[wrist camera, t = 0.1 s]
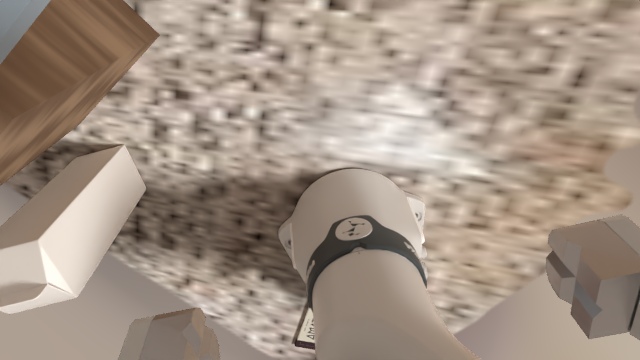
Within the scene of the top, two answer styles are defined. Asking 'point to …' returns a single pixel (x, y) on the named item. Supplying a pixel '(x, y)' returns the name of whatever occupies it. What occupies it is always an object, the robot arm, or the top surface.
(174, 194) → the top surface
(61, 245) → the milk
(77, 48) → the stand
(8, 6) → the slat
